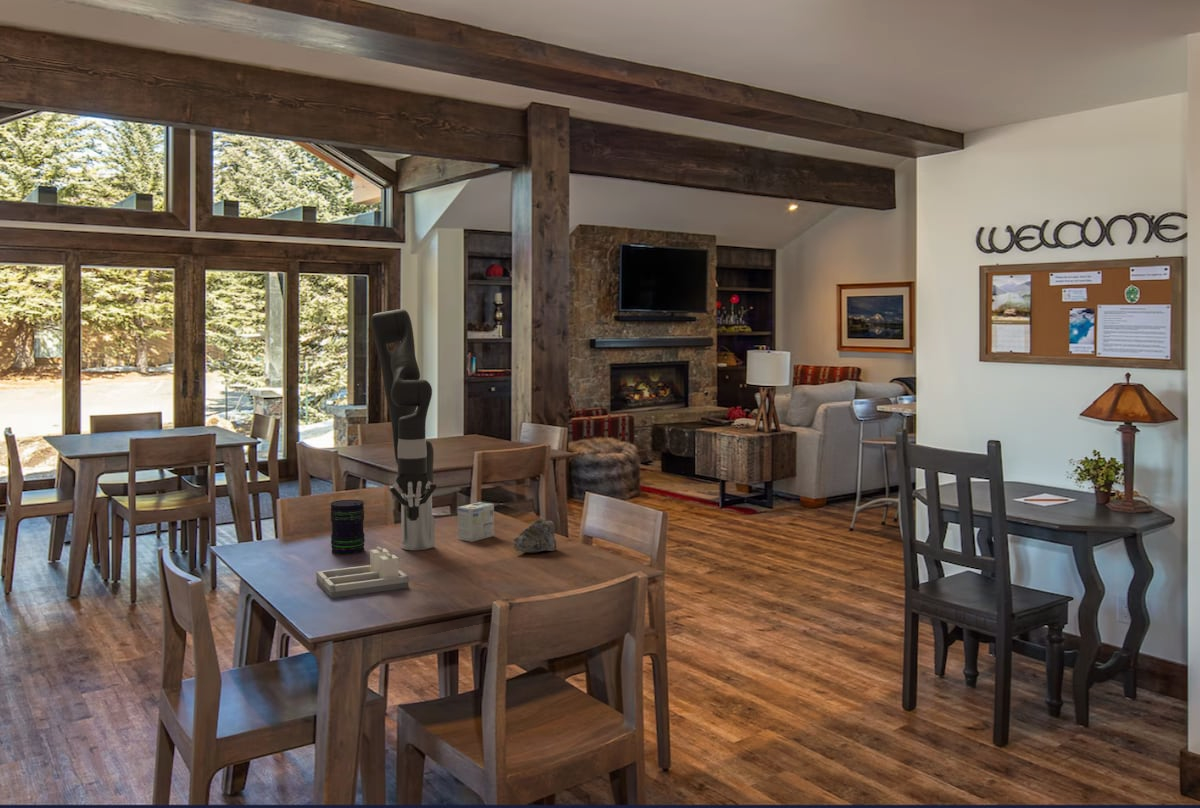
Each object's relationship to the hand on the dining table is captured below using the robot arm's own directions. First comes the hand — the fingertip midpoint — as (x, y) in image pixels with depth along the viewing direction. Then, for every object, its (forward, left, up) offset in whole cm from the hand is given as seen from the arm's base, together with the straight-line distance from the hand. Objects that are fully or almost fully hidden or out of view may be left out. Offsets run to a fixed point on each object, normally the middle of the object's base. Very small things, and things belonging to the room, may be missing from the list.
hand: (412, 520), depth 246 cm
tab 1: (+7, -8, -15) cm, 18 cm away
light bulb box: (-34, -41, -17) cm, 56 cm away
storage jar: (+7, -42, -17) cm, 46 cm away
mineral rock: (-44, -16, -17) cm, 49 cm away
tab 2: (+7, 0, -15) cm, 17 cm away
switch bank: (+13, -4, -17) cm, 21 cm away
